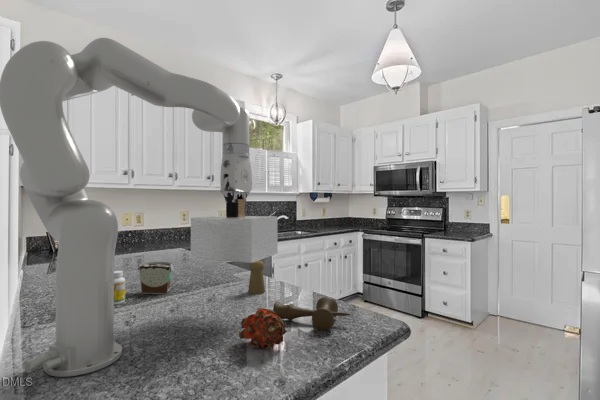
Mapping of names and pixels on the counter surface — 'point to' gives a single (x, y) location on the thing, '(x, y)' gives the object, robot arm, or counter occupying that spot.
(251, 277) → the olive green tapered piece
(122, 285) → the supplement bottle
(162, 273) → the food container
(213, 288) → the counter surface
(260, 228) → the box with wooden handle
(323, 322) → the kendama
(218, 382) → the counter surface
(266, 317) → the dragon fruit
